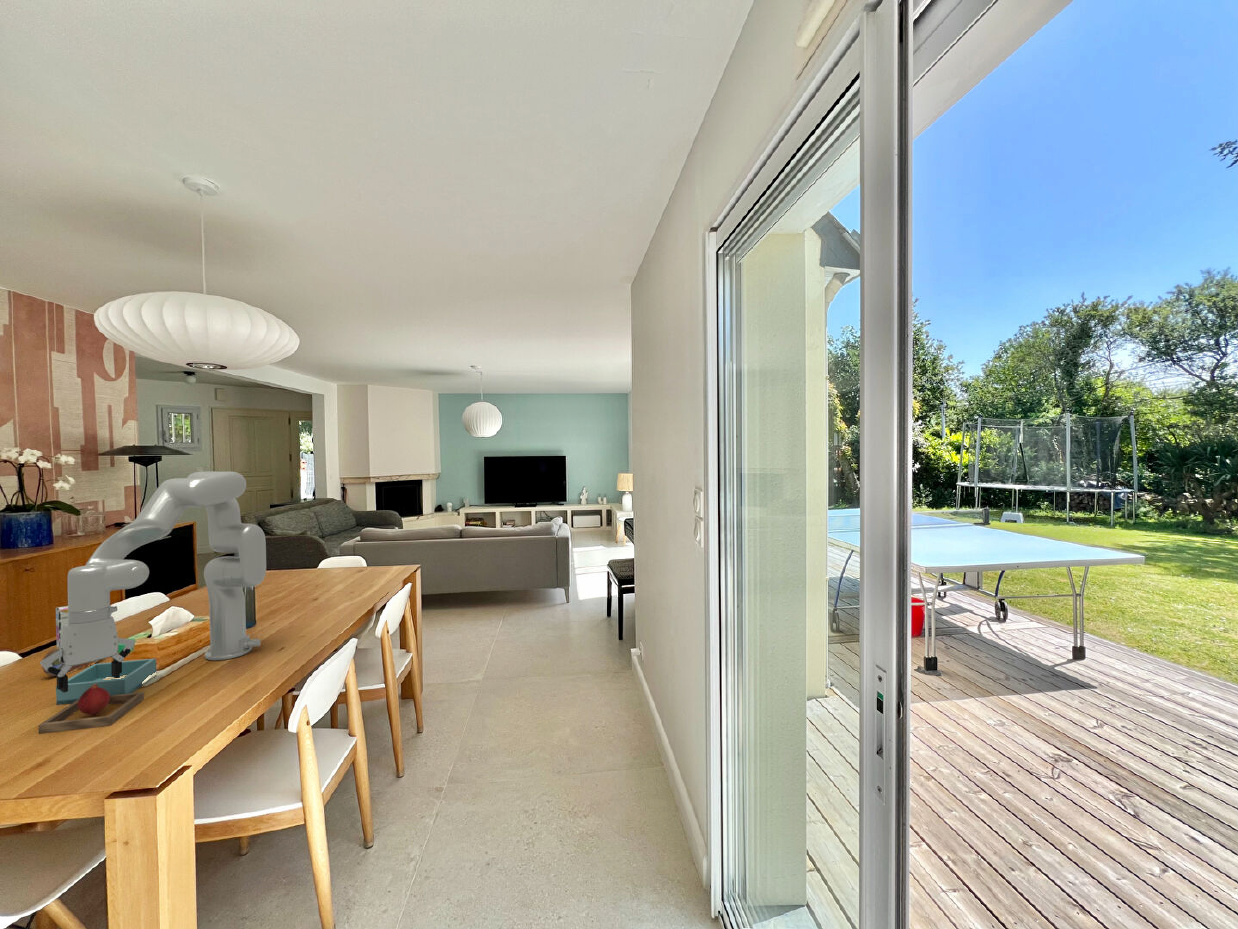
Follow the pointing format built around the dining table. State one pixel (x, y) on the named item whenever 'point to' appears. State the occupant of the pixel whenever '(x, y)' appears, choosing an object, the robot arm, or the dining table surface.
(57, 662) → the tin
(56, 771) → the dining table surface
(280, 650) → the dining table surface
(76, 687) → the bin
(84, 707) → the onion
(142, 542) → the robot arm
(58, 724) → the frame
